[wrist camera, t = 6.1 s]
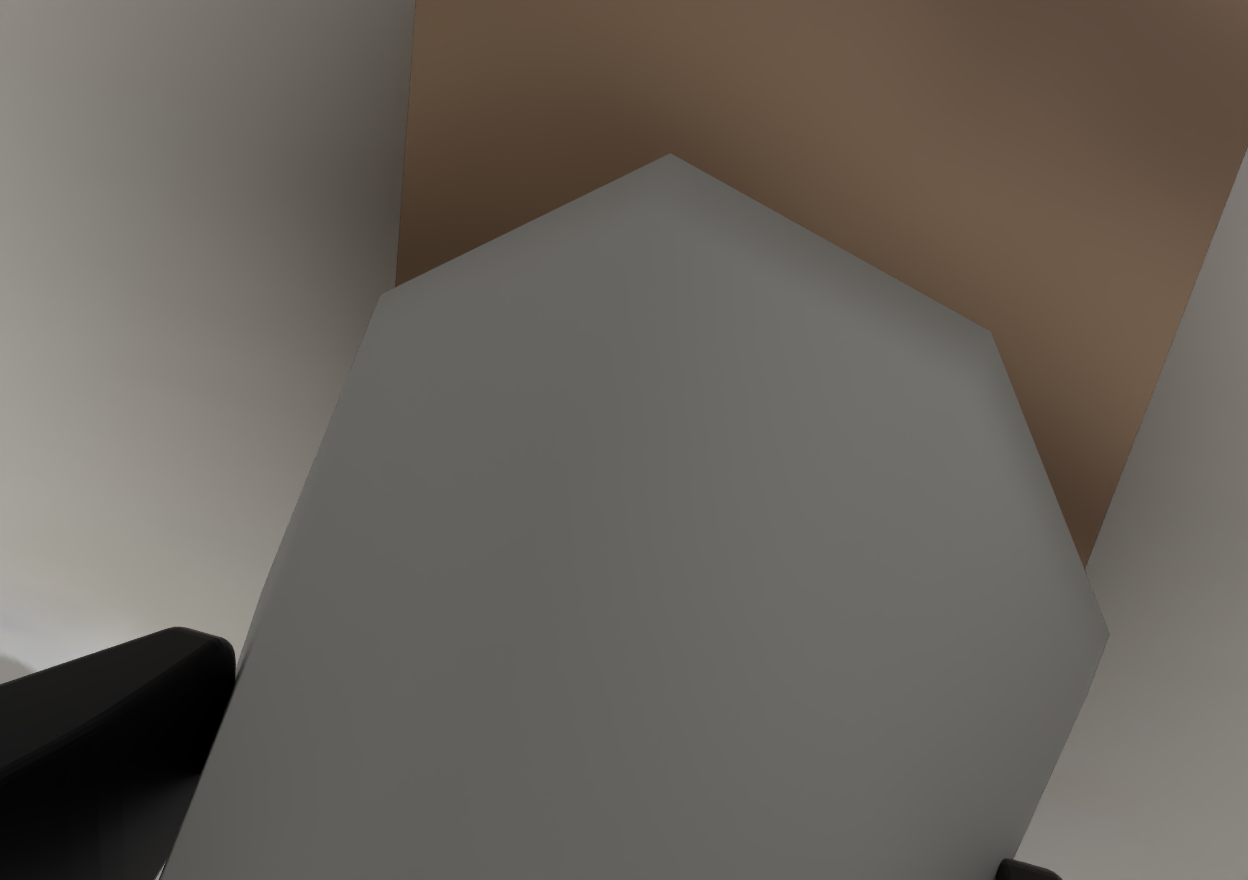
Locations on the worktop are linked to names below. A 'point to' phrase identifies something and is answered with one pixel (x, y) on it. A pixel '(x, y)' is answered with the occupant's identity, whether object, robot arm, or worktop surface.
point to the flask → (656, 576)
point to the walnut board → (879, 160)
